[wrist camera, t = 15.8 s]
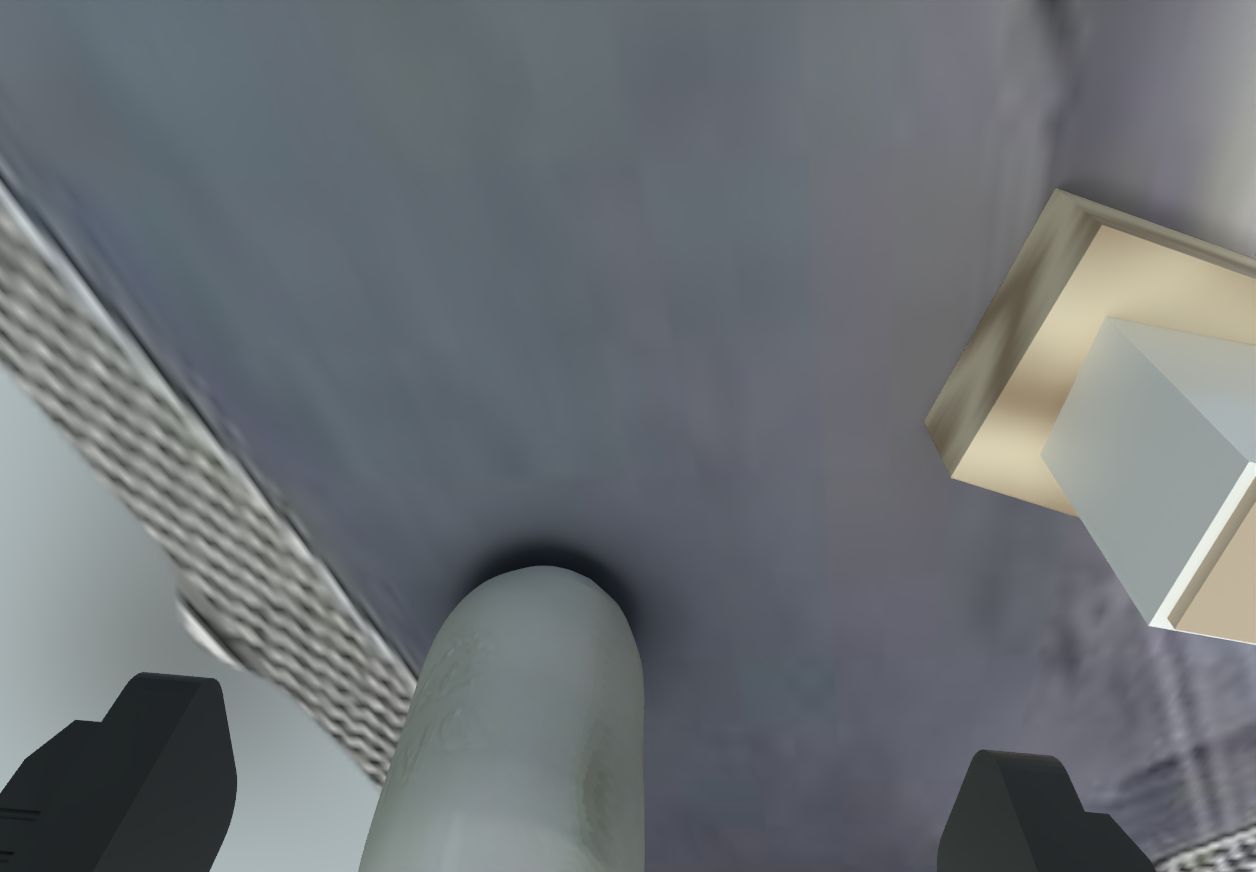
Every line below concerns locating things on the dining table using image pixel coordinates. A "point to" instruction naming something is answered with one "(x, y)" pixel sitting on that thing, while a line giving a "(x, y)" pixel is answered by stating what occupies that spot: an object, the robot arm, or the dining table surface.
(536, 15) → the dining table surface
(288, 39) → the dining table surface
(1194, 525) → the white square container
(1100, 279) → the pale gold metal block
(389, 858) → the glass bottle
